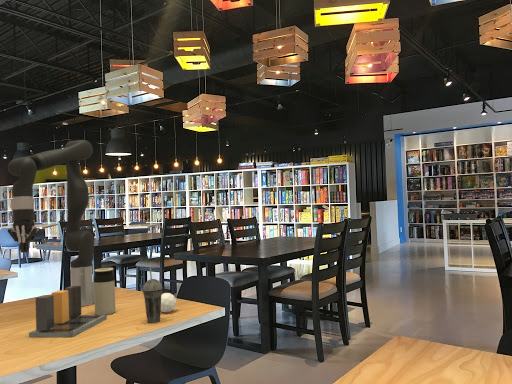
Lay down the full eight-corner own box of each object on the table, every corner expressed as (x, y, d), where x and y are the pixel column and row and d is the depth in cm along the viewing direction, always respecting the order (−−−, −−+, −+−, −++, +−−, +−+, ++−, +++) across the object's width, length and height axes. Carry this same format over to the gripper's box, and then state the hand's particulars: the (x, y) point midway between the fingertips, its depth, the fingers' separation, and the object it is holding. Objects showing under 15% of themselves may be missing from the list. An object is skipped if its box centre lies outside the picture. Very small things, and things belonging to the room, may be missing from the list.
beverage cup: (167, 319, 159) (165, 265, 160) (156, 324, 152) (154, 268, 153) (150, 318, 161) (149, 265, 162) (139, 323, 154) (137, 268, 155)
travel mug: (108, 315, 168) (107, 270, 169) (90, 315, 170) (89, 270, 171) (119, 310, 176) (117, 267, 177) (101, 310, 178) (100, 267, 178)
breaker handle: (59, 320, 156) (58, 290, 157) (69, 320, 156) (68, 290, 156) (52, 323, 152) (51, 292, 153) (62, 323, 152) (61, 292, 152)
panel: (68, 319, 166) (67, 285, 166) (106, 318, 163) (105, 285, 164) (29, 337, 143) (28, 298, 143) (72, 337, 141) (71, 298, 141)
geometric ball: (167, 317, 172) (172, 299, 177) (177, 313, 167) (181, 294, 172) (150, 311, 169) (156, 292, 174) (160, 306, 164) (166, 287, 169)
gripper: (44, 207, 169) (45, 250, 169) (14, 209, 171) (15, 251, 170) (32, 207, 162) (33, 252, 161) (1, 209, 164) (2, 253, 163)
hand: (24, 252), depth 166 cm, fingers closed
